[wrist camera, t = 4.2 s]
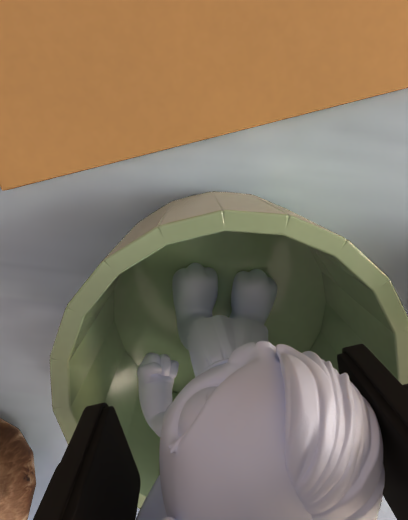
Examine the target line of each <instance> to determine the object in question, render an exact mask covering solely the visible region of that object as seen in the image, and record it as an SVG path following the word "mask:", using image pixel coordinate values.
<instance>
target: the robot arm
mask: <svg viewBox="0 0 408 520" xmlns="http://www.w3.org/2000/svg"><path fill="white" fill-rule="evenodd" d="M337 362H338V369H339V374H340V375H341V374H343V373H347V374H348V376H349V379H350V382H352V383H353V384H354V385H355V387H356V388H357V389H358V390H359V392H360V394H361V395H362V396H363V397H364V398H365V399H366V400H367V401H368V402H369V404H370V405H371V407H372V408H373V410H374V412H375V415H376V417H377V420H378V423H379V426H380V430H381V434H382V440H383V465H384V470H385V484H384V489H383V496H384V497H385V499H386V501H387V503H388V504H389V506H390V508H391V510H392V511H393V513H394V515H395V517H396V518H397V520H408V384H404V385H402V384H401V383H400V382H399V381H398V380H397V379H396V378H395V377H394V376H393V375H392V373H391V372H390V371H389V370H388V369H387V368H386V367H385V366H384V365H383V364H382V363H381V362H380V361H379V360H378V359H377V358H376V357H375V356H374V354H373V353H372V352H371V351H370V350H369V349H368V348H367V347H366V346H365V345H364V344H357V345H353V346H349V347H344V348H343V349H342V353H341V354H338V355H337ZM140 486H141V481H140V474H139V471H138V468H137V466H136V463H135V461H134V458H133V455H132V453H131V450H130V447H129V445H128V442H127V440H126V437H125V434H124V432H123V429H122V426H121V424H120V421H119V419H118V416H117V413H116V411H115V408H114V407H113V406H108V404H107V403H105V402H104V403H99V404H95V405H91V406H87V407H85V409H84V411H83V413H82V415H81V417H80V420H79V422H78V424H77V426H76V429H75V431H74V433H73V436H72V438H71V440H70V442H69V445H68V447H67V449H66V451H65V454H64V456H63V458H62V460H61V462H60V463H59V464H58V466H57V468H56V469H55V472H54V474H53V476H52V478H51V481H50V483H49V485H48V487H47V490H46V492H45V494H44V496H43V499H42V501H41V503H40V505H39V507H38V510H37V512H36V514H35V516H34V519H33V520H135V518H136V512H137V506H138V499H139V493H140Z"/></svg>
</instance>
